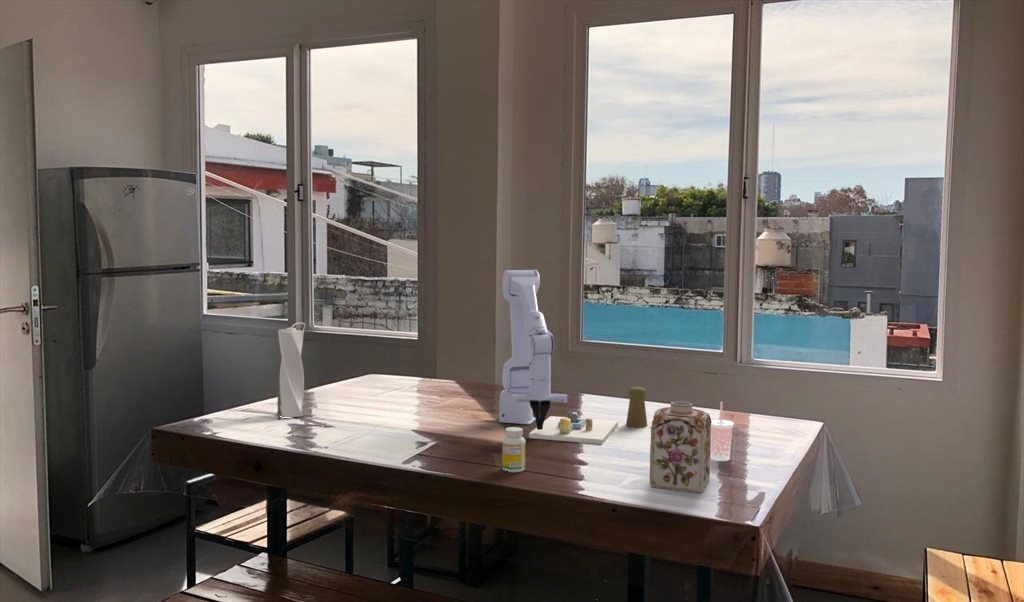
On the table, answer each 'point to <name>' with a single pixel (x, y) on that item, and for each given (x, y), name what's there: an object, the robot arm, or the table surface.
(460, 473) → the table surface
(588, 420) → the dowel
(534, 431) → the base plate
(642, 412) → the cork
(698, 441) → the decorative jar
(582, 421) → the square ring with handle
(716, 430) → the beverage cup
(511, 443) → the supplement bottle
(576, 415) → the post
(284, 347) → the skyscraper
